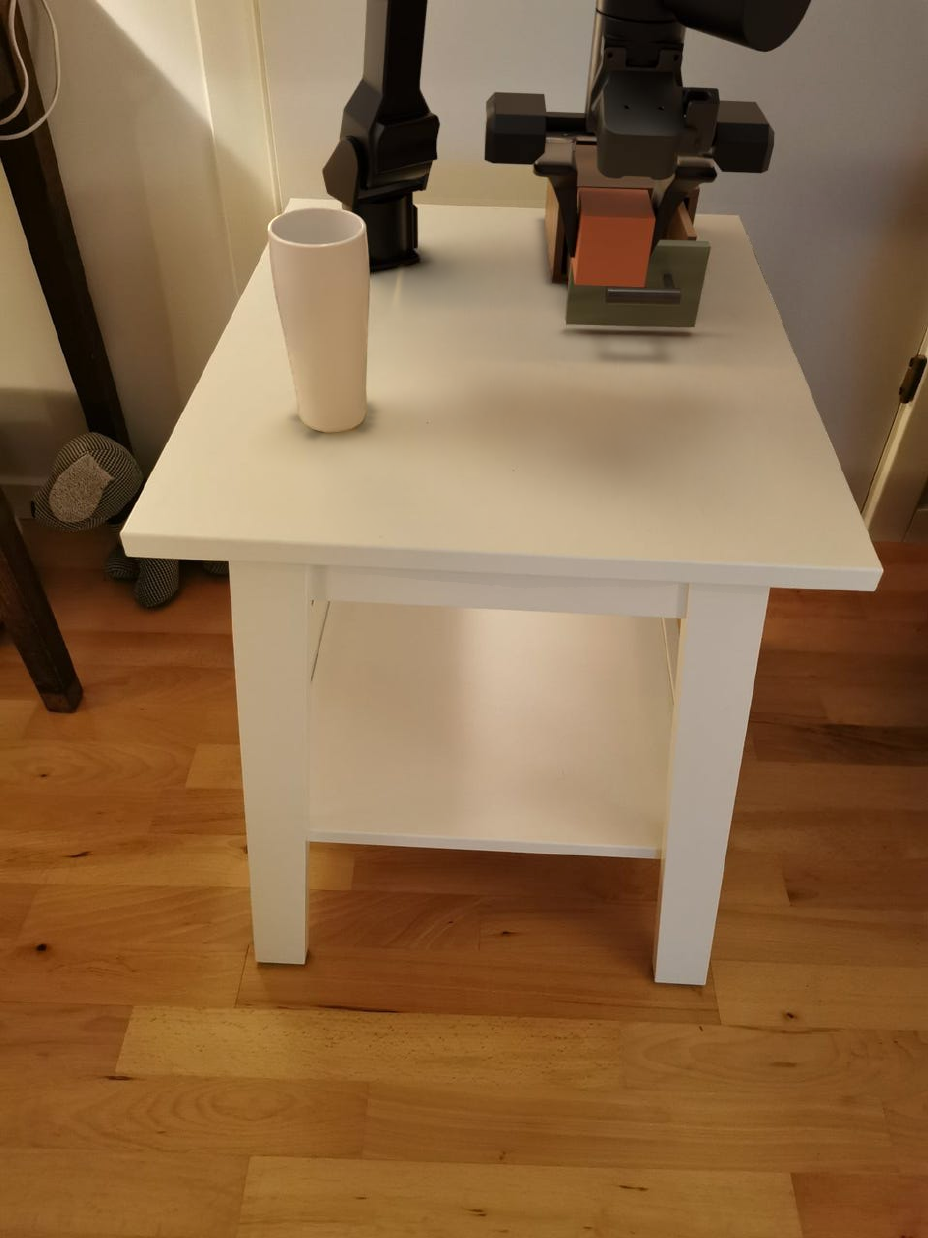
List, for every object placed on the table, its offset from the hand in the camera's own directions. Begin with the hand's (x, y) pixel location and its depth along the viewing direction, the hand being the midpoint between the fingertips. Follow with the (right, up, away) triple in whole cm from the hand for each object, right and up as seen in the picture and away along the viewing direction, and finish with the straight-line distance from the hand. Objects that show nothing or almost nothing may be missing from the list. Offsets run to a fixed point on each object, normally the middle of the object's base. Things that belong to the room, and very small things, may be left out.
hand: (608, 256), depth 71 cm
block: (0, -1, +1) cm, 1 cm away
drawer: (+4, +3, +18) cm, 19 cm away
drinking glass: (-21, -11, +5) cm, 24 cm away
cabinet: (+4, +11, +28) cm, 31 cm away
